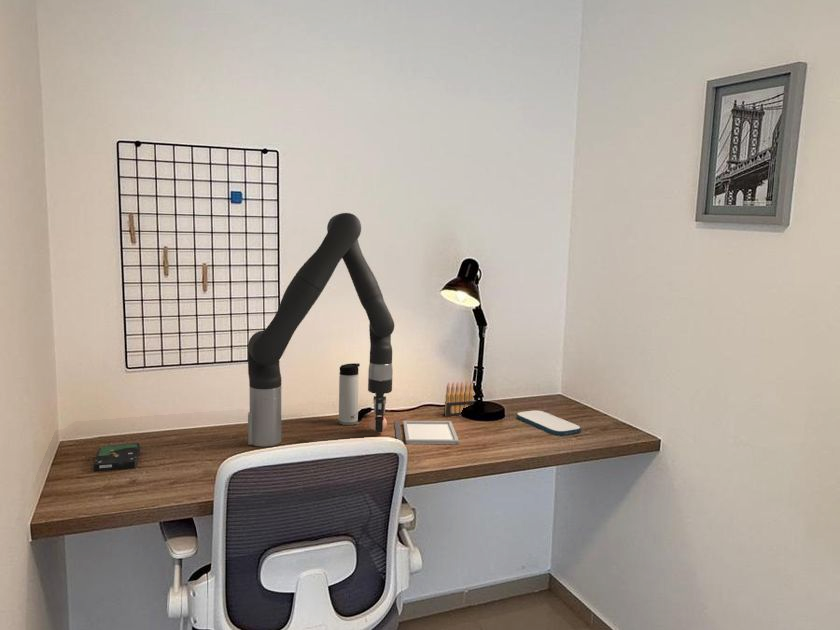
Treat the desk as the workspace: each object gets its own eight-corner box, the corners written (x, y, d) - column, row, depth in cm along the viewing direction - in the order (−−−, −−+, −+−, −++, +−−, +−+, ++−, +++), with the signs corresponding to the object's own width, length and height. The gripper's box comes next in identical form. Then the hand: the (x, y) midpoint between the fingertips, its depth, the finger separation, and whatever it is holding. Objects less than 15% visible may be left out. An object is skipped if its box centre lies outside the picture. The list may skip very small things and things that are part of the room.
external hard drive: (512, 418, 233) (513, 412, 232) (538, 414, 238) (539, 409, 238) (557, 438, 212) (557, 432, 212) (584, 433, 218) (585, 428, 217)
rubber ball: (370, 433, 207) (371, 417, 207) (370, 428, 212) (371, 413, 212) (386, 433, 208) (387, 418, 207) (386, 428, 213) (387, 413, 212)
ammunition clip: (445, 417, 230) (447, 383, 229) (443, 415, 232) (444, 382, 230) (473, 415, 234) (475, 381, 232) (471, 413, 236) (472, 380, 234)
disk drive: (137, 470, 175) (139, 451, 189) (136, 460, 175) (139, 442, 189) (93, 474, 172) (99, 454, 185) (93, 464, 171) (99, 445, 185)
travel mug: (357, 426, 217) (358, 366, 214) (337, 425, 217) (338, 365, 215) (359, 420, 223) (360, 362, 221) (340, 419, 223) (340, 361, 221)
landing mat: (397, 445, 200) (397, 441, 200) (394, 423, 221) (394, 419, 221) (459, 445, 201) (459, 441, 201) (450, 423, 223) (450, 420, 223)
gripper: (368, 371, 214) (367, 422, 217) (368, 381, 200) (366, 436, 203) (391, 371, 215) (390, 422, 217) (393, 382, 201) (391, 436, 203)
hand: (378, 429), depth 210 cm, fingers closed on rubber ball, 5 cm apart
